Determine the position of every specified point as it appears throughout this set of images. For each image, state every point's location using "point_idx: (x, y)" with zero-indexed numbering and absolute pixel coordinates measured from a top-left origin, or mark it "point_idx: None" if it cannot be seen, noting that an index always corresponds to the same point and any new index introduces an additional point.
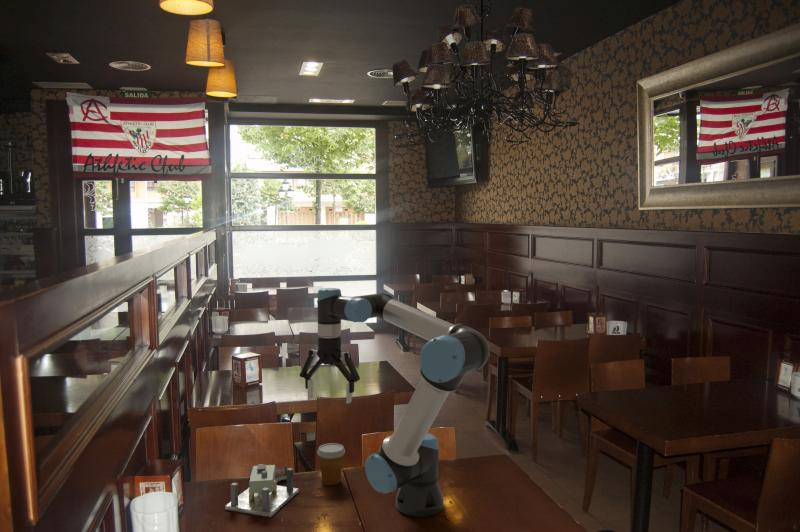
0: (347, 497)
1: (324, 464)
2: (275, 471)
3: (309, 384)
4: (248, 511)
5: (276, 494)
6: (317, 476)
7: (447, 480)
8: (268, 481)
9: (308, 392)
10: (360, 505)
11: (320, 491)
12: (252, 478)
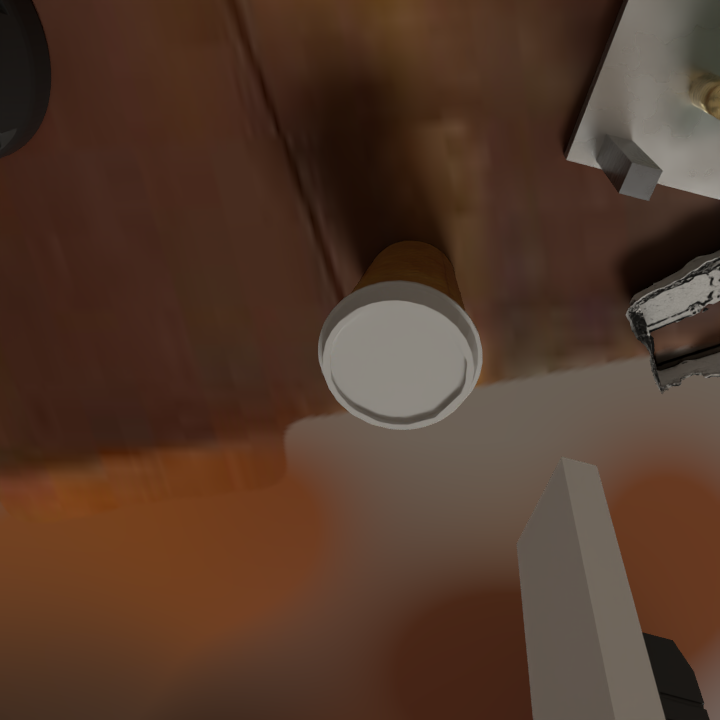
0: (298, 111)
1: (432, 277)
2: (706, 363)
3: (617, 695)
4: None
5: (690, 73)
6: (486, 331)
7: None
8: None
9: (606, 553)
10: (213, 20)
11: (447, 171)
12: None
